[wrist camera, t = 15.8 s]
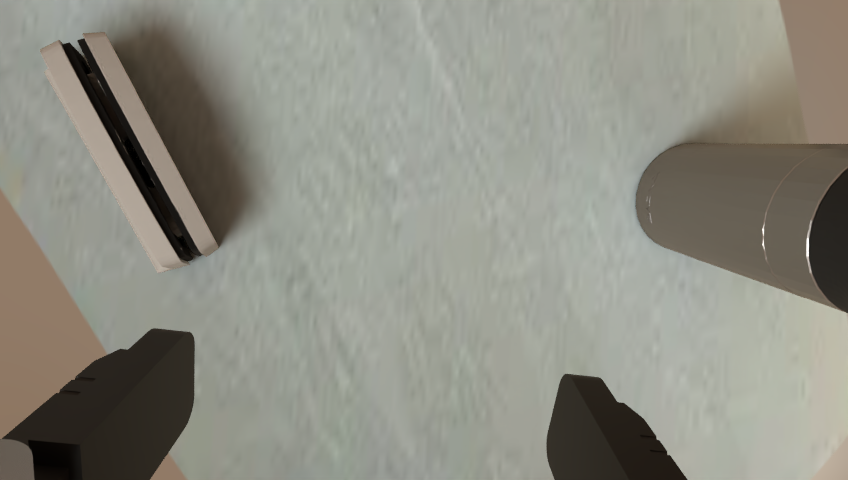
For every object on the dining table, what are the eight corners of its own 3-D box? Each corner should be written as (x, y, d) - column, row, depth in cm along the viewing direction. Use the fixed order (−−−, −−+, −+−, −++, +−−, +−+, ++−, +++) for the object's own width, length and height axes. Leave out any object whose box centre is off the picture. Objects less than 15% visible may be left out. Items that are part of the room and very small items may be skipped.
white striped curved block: (47, 72, 36) (-6, 24, 27) (115, 52, 38) (87, 0, 28) (162, 275, 40) (149, 293, 30) (220, 249, 41) (224, 258, 32)
